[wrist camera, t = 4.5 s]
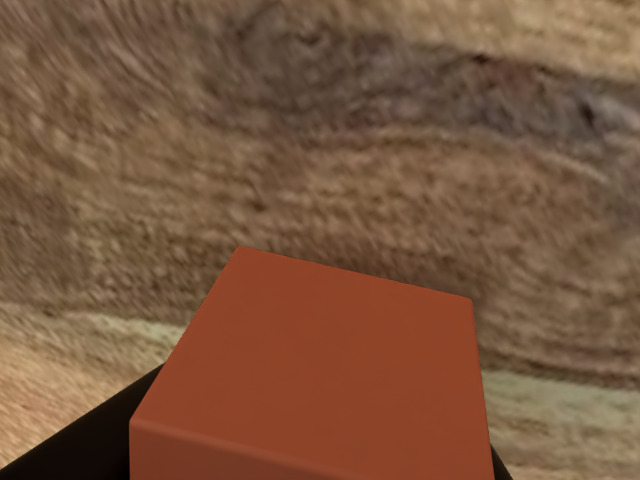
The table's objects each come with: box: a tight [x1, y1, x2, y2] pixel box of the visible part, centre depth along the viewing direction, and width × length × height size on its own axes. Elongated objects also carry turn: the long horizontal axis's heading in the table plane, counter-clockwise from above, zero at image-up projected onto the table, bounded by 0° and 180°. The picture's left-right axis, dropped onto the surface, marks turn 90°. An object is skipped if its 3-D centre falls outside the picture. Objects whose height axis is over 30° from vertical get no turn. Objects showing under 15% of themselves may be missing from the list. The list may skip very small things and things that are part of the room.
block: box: [129, 246, 495, 480], centre depth 8 cm, size 4×4×4 cm
